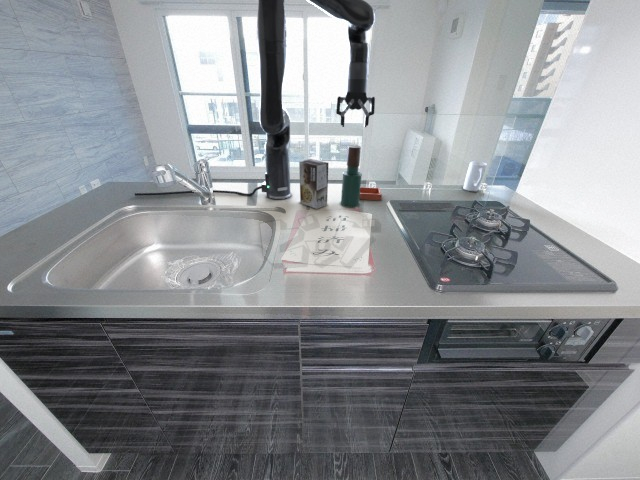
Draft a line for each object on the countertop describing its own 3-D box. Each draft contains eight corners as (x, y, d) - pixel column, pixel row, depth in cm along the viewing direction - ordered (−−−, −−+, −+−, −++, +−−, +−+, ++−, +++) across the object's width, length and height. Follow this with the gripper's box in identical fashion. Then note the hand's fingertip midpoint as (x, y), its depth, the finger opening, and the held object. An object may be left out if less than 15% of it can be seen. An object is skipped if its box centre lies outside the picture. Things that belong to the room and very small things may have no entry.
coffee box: (327, 205, 102) (329, 162, 94) (316, 209, 98) (317, 165, 90) (311, 198, 107) (311, 158, 100) (299, 203, 103) (298, 160, 95)
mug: (460, 186, 126) (468, 161, 120) (475, 187, 126) (483, 161, 120) (468, 193, 118) (476, 166, 112) (484, 194, 117) (493, 167, 111)
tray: (357, 199, 108) (358, 193, 107) (357, 192, 116) (357, 186, 114) (380, 200, 108) (381, 194, 107) (378, 193, 115) (379, 188, 114)
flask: (340, 206, 101) (343, 167, 93) (341, 200, 107) (343, 162, 99) (358, 207, 100) (362, 168, 93) (358, 201, 106) (362, 163, 99)
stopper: (346, 173, 96) (348, 147, 91) (346, 170, 100) (347, 145, 95) (358, 174, 95) (361, 148, 91) (358, 170, 99) (360, 145, 95)
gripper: (376, 78, 98) (371, 126, 106) (337, 78, 99) (336, 125, 107) (378, 77, 92) (373, 128, 100) (337, 77, 93) (335, 127, 101)
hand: (354, 126), depth 103 cm, fingers open, 8 cm apart
